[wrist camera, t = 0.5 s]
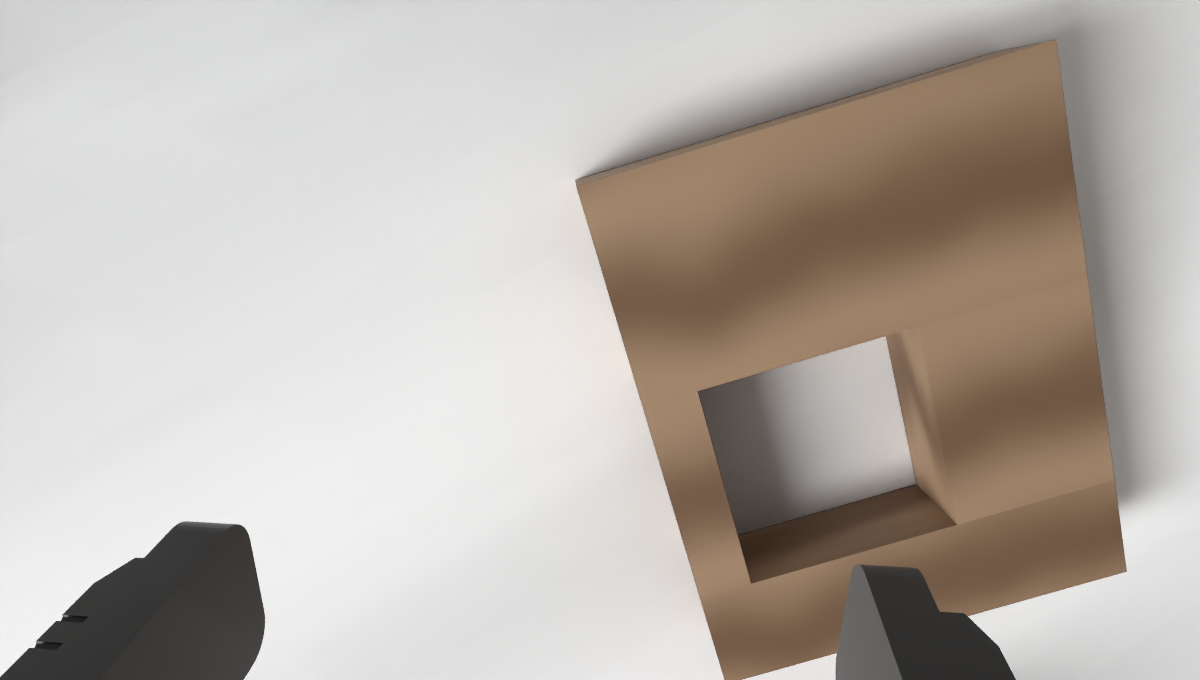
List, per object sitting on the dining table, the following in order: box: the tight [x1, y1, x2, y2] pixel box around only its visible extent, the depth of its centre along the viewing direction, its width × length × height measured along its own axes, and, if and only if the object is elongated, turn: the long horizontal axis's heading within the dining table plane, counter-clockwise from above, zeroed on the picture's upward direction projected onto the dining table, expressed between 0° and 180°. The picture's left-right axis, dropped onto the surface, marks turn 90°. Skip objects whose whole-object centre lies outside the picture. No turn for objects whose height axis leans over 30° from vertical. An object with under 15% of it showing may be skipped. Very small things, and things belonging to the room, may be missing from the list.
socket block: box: [575, 40, 1127, 680], centre depth 29 cm, size 20×16×4 cm
